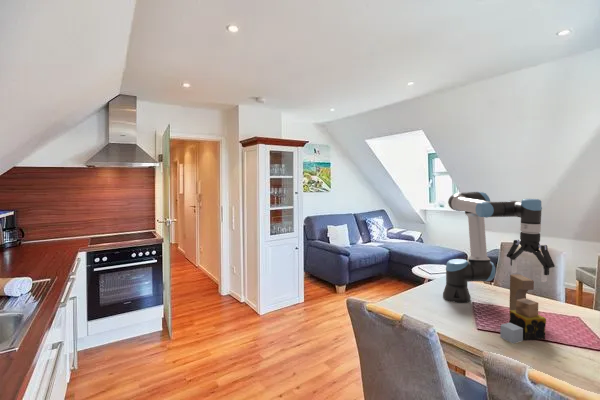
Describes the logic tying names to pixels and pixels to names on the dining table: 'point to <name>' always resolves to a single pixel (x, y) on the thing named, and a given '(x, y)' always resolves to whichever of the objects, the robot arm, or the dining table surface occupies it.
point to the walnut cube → (527, 307)
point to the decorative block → (519, 288)
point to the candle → (529, 325)
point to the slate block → (511, 333)
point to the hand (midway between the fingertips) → (528, 277)
